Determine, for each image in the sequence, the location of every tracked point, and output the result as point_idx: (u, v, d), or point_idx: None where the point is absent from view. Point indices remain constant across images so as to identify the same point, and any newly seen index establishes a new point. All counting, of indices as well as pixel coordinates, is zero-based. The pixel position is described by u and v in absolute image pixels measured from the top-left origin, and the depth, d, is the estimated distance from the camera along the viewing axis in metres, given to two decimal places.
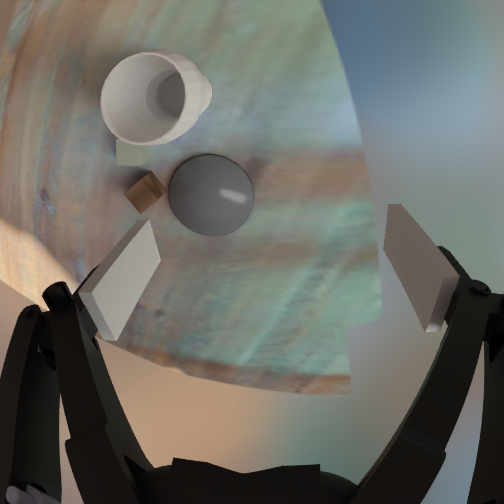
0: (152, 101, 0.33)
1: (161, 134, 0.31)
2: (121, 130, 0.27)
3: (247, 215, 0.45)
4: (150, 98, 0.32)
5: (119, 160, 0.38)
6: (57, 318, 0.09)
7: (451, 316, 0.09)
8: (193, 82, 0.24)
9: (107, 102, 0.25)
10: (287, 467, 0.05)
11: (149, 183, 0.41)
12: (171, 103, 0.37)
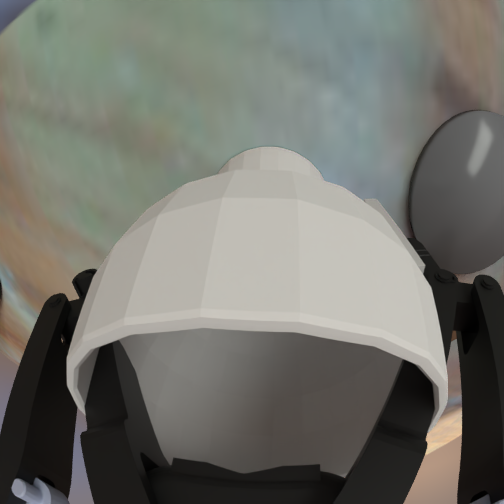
0: None
1: None
2: (331, 429, 0.10)
3: None
4: None
5: None
6: None
7: None
8: (210, 246, 0.05)
9: (243, 450, 0.10)
10: (287, 467, 0.05)
11: None
12: None
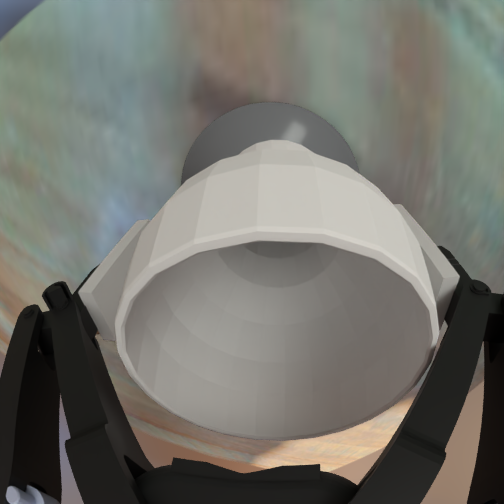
0: (281, 267, 0.18)
1: (375, 282, 0.13)
2: (339, 386, 0.12)
3: (319, 120, 0.18)
4: (272, 273, 0.18)
5: None
6: (57, 318, 0.09)
7: (451, 316, 0.09)
8: (256, 193, 0.06)
9: (259, 407, 0.12)
10: (287, 467, 0.05)
11: None
12: None
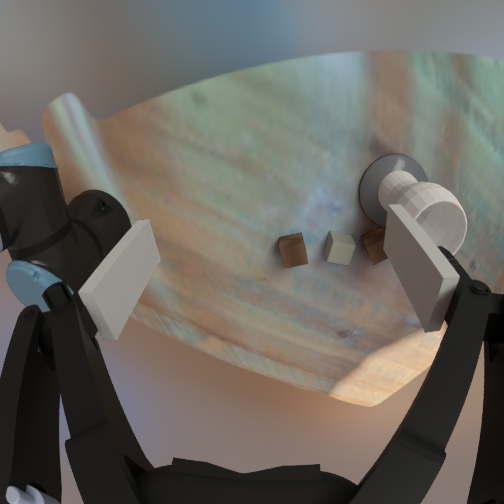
0: None
1: (444, 221, 0.36)
2: None
3: (416, 164, 0.41)
4: None
5: (345, 262, 0.49)
6: (57, 318, 0.09)
7: (451, 316, 0.09)
8: (439, 193, 0.30)
9: None
10: (287, 467, 0.05)
11: (371, 241, 0.47)
12: None
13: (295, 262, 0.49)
